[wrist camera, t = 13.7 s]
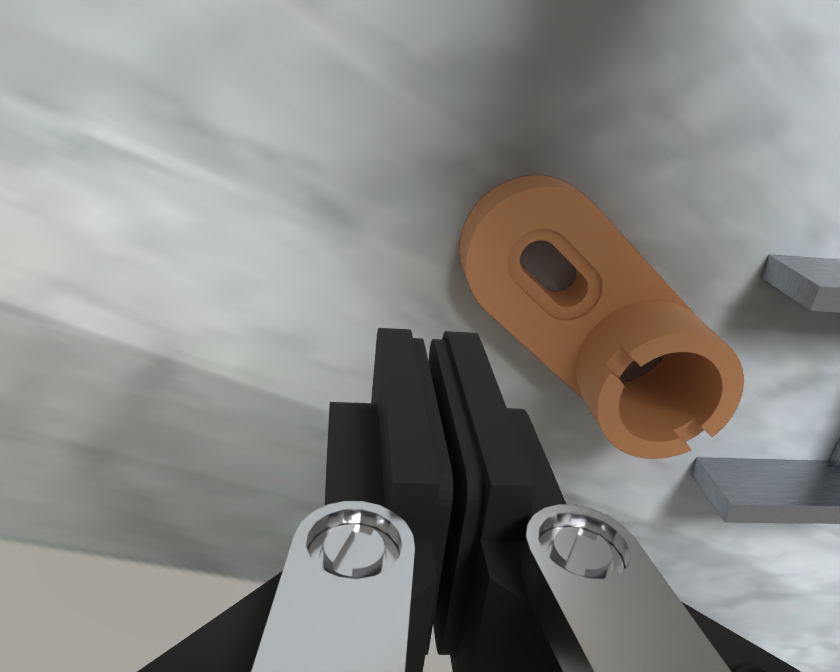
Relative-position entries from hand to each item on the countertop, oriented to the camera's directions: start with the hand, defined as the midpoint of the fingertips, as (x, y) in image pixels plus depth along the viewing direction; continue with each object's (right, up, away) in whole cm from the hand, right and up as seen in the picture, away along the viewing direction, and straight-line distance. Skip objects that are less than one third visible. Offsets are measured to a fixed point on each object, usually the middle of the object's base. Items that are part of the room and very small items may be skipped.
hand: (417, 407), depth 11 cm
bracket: (+10, +4, +30) cm, 32 cm away
